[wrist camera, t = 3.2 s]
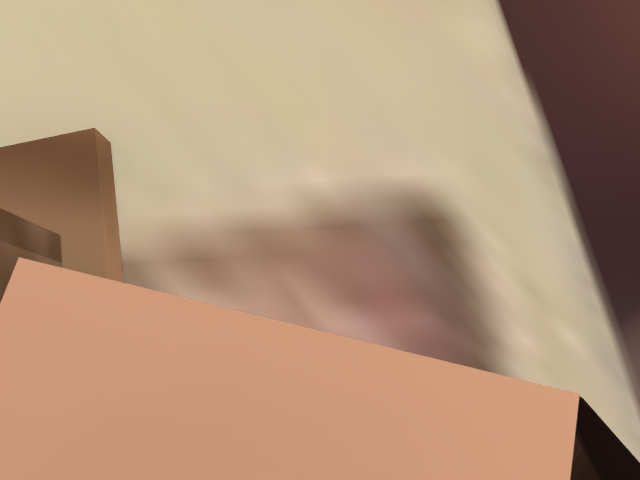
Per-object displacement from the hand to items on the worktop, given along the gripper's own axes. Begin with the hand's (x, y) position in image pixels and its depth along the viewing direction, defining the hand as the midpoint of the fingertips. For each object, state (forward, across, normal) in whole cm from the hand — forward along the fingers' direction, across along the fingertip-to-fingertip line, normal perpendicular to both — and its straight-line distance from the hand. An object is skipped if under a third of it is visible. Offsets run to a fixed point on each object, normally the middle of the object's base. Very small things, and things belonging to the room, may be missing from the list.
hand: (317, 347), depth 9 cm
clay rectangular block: (+4, 0, +6) cm, 7 cm away
